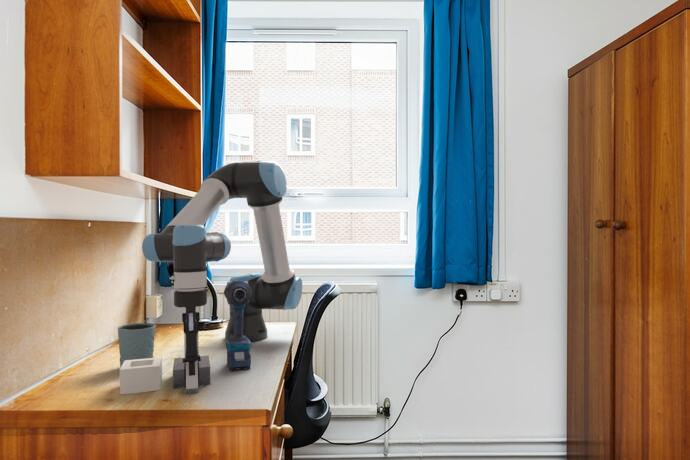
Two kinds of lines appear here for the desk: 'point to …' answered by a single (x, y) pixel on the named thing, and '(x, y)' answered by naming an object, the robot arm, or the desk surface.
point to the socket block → (180, 372)
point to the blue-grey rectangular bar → (192, 390)
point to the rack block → (141, 375)
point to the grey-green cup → (136, 341)
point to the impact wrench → (238, 325)
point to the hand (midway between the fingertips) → (192, 387)
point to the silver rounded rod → (185, 345)
